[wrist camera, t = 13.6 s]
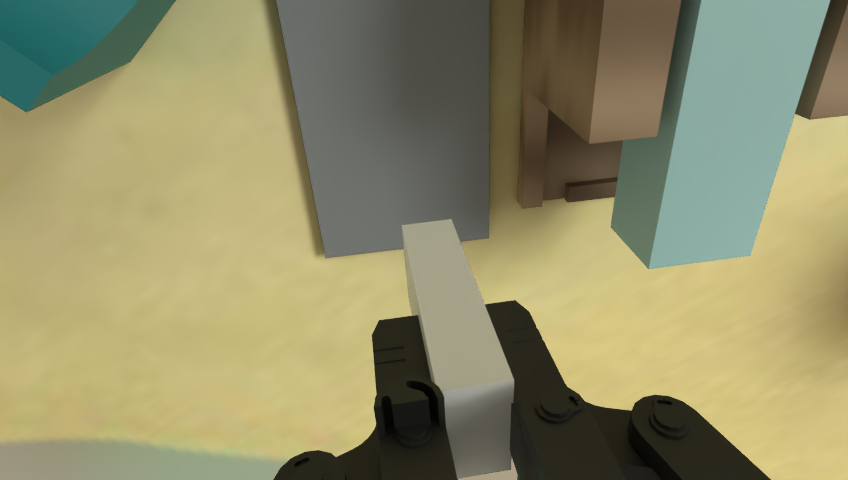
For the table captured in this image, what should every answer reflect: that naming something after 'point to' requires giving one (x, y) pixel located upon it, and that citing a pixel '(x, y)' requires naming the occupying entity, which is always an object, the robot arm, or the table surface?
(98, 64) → the teal l-shaped bracket
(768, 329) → the table surface
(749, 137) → the bar
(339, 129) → the felt mat
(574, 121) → the pocket board
